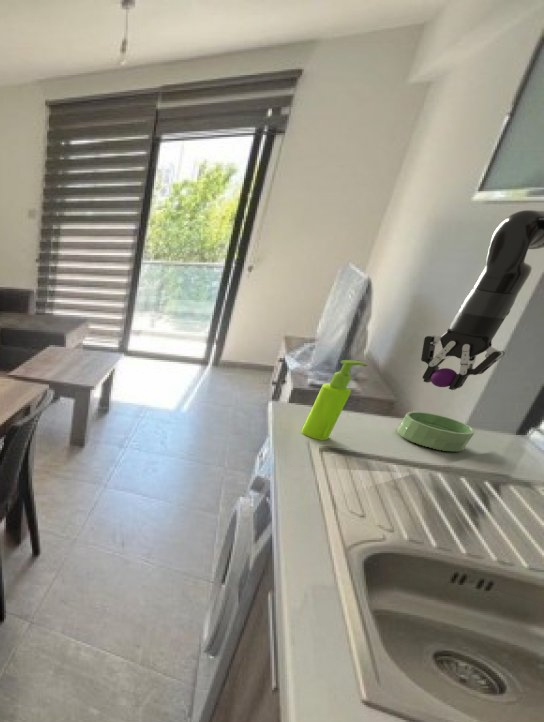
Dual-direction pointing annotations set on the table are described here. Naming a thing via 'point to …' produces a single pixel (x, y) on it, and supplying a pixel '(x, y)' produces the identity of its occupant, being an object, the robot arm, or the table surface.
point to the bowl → (435, 431)
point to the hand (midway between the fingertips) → (439, 385)
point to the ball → (443, 377)
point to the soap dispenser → (329, 403)
